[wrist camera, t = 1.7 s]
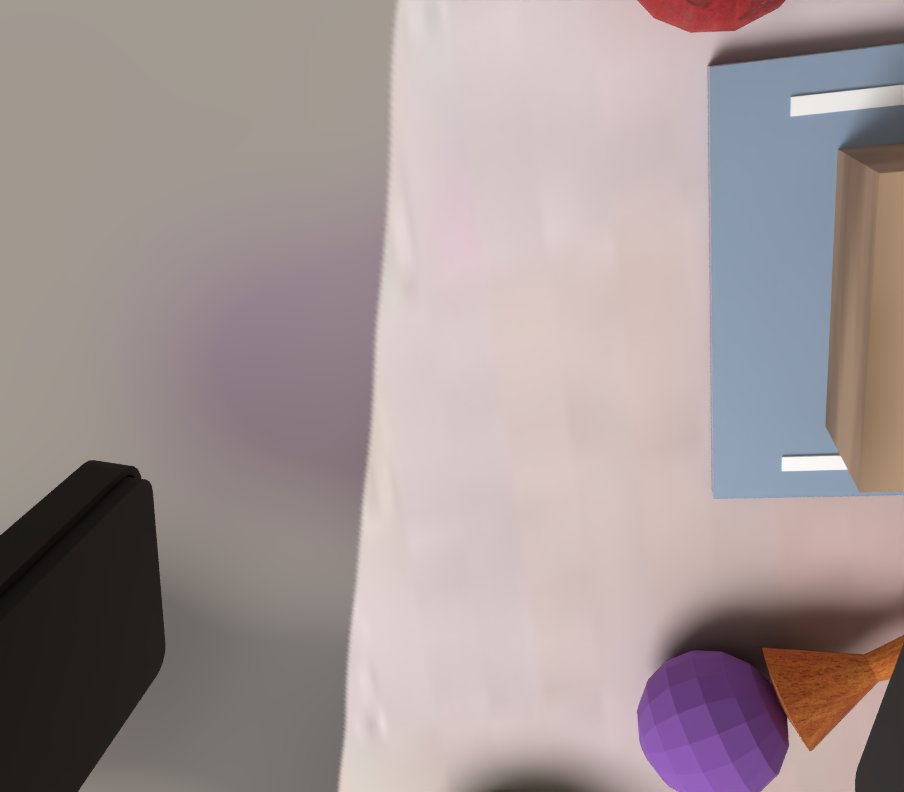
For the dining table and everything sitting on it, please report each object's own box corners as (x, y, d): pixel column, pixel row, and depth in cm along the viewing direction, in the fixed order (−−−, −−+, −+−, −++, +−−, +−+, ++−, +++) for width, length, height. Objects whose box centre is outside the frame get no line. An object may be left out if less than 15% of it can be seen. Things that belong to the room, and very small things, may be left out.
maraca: (1223, 682, 30) (689, 852, 35) (1112, 566, 35) (660, 729, 41) (1199, 570, 28) (627, 771, 33) (1083, 463, 33) (605, 652, 38)
